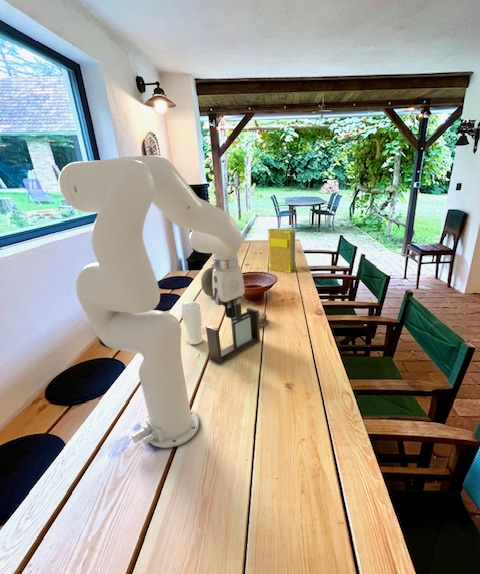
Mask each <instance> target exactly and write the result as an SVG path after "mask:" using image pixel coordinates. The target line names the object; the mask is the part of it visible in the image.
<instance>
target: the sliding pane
mask: <svg viewBox="0 0 480 574" xmlns="http://www.w3.org/2000/svg"><path fill="white" fill-rule="evenodd" d="M235 312H236V321H234V322H232V326H231V332H232V331H233V337H232V343H233V342H234V349H235V348H237V347H239V346H241V345H242V344H244V343H246V342H248V341H250V340H252V336H251V321H250V315H247V316H245V317H243V318H242V314H243V313H242V303H241V302H238V301H237V304H236V306H235Z"/></svg>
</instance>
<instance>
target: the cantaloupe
mask: <svg viewBox="0 0 480 574" xmlns="http://www.w3.org/2000/svg"><path fill="white" fill-rule="evenodd" d="M213 269H214V268H213V267H212V266H211V267H209V268H206V269H205V270H204V272H203V273H202V276H201V278H200V284H201V288H202V290H203V293H204V294H205V295H207V296H208V297H211V298H214V295H213V285H212V276H213Z"/></svg>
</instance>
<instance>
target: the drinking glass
mask: <svg viewBox="0 0 480 574" xmlns="http://www.w3.org/2000/svg"><path fill="white" fill-rule="evenodd" d="M180 312H181V317H182V321H183V326H184V329H185V333H186V337H187V342H188V344H190V345H199V344H201V343H202V342H203V329H202V310H201V305H200V303H199V302H197V301H188V302H184V303H182V304H181V305H180Z"/></svg>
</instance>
